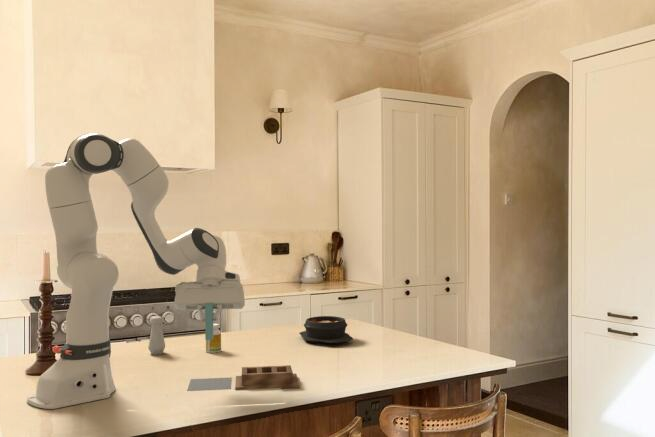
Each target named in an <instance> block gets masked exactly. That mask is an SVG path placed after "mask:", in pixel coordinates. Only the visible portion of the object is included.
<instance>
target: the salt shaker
mask: <svg viewBox="0 0 655 437" xmlns="http://www.w3.org/2000/svg"><path fill="white" fill-rule="evenodd" d="M163 318H164V317H163V316H158V315H156V316H151V318H150V320H149V322H150V324H151V328H150V329H151V330H150V337H149V341H148V350H149V352H150V354H151V355H155V356H159V355H163V353H164V351H165V349H166V342H165V337H164V331H163V325H162V324H163V322H164V319H163Z"/></svg>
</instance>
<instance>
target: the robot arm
mask: <svg viewBox="0 0 655 437" xmlns="http://www.w3.org/2000/svg"><path fill="white" fill-rule="evenodd" d="M108 171H113V172H114V173H116V174H117V175H118V176H119V177H120V178H121V180H122V181H123V183H124V184H125V186H126V187H127V189H128V190H129V192H130V195H131V199H132V202H131V204H130V209H131V212H132V215H133V217H134V219H135V221H136V223H137V225H138V228H139V229H140V231H141V234H142V235H143V237H144V238H145V240H146V242H147V244H148V246H149V249H150V250H151V252H152V255H153V258H154V261H155V263H156V266H157V267H158V269H159V270H160V271H161V272H163V273H165V274H168V275H173V276H175V275H177V274H179V273H180V272H182V271H184V270H185V269H187V268H189V267H191V266H193V265H194V264H195V265H196V266H197V270H196V278H195V281H188V282H187V281H181V282H180V283H177V284H176V285H175V287H174V292H175V296H174V308H175V309H176V310H178V311H197V314H198V315H199V316H200V322H205V312H203V311H205V304H206V303H213V310H215V312H213V322H215V321H217V322H218V321H219V316H221V314H222V312H223V310H242V309H243V308H244V307H245V304H246V302H245V292H244V291H245V290H244V287H243V285H242V284H243V283H241V277H240V275H239V274H238V273H234V272H229V271H227V270H226V266H227V250H226V245H225V243H224V241H223V239H222V238H220V237H219V236H217V235H215V234H214V235H213V234H211V233H210V232H208V231H207V230H205V229H204V228H200V227H194V228H192V229H190V230H188V231H186V232H184V233H182V234H180V235H178V236H176V237H175V238H173V239H170V240H169V239H167V238H166V237H165V235H164V233H163V231H162V229H161V227H160V225H159V224H158V221H157V219H156V217H155V212H156V209H157V207H158V206H159V205H160V204H161V203H162V200H164V198H165V196H166V195H167V194H168V189H169V183H170V182H169V178H168V175H167V174H166V172H165V171H164V169H163V167H162V166H161V165H160V164H159V162H158V161H157V159H156V158H155V157H154V155H153V154H152V152H150V151H149V150H148V148H146V147H145V146H144V145H143V144H142V143H141V142H140V141H139V140H137V139H136V138H126V139H123V140H121V141H119V142H118V141H117V140H114V139H112V138H110V137H109V136H106V135H104V134H102V133H101V134H100V133H97V132H96V133H95V132H94V133H85V134H82V135H80V136H78V137H77V138H75V139H74V140H73V141H72V142H71V143H70V145H69V146H68V149H67V151H66V155H65V157H64V161H63V162H62V163H58V164H55V165H53V166H52V167H50V168H49V169H48V170H46V172H45V180H44V182H45V184H44V185H45V194H46V202H47V206H48V210H49V215H50V218H51V222H52V227H53V231H54V235H55V241H56V243H55V244H56V258H57V267H56V273H57V276H58V279H59V280H60V281H61V282H62V284H63V285H65V287H67V288H69V289H71V297H70V300H69V307H68V309H67V312H66V314H65V332H66V333H65V337H66V340H65V343H64V345H63V346H61V345H60V346H59V345H56V344H55V345H54V346H53V347H52V352H53V353H54V354H59V355H60V356H59V358H58V359H57V360H56V361H55V362H54V363H53V364H52V365H51V366H49V367H48V368H47V369H46V371H44V372H43V373H42V374H41V375H40V376H39V377H38V380H37V385H36V390H35V391H36V392H35V393H33V394H30V395H28V396H27V400H26V401H27V402H26V403H28V404H29V405H31V406H33V407H35V408H40V409H46V410H54V409H59V408H65V407H70V406H74V405H78V404H79V405H80V404H84V403H89V402H93V401H99V400H100V401H101V400H104V399H109V398H110V397H111V394H113V393H114V392H115V391H116V386H115V382H114V377H113V374H112V369H111V368H112V367H111V354H112V353H111V352H112V350H111V348H112V346H111V339H110V337H109V334H110V329H109V326H110V325H109V322H110V321H109V320H110V319H109V317H110V316H109V315H110V306H111V300H112V296H113V292H114V287H115V285H116V284H117V282H118V281H119V268H118V266H117V264H116V263H115V261H113V260H112V259H111V258H110V257H108V256H107V255H104V254H103V253H98V250H97V247H98V246H97V233H98V230H99V226H98V222H97V218H96V217H97V216H96V213H95V208H94V204H93V200H92V196H91V193H90V192H91V191H90V186H89V185H90V183H89V182H90V179H91V177H92V175H97V174H102V173H106V172H108Z"/></svg>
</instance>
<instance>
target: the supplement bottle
mask: <svg viewBox="0 0 655 437" xmlns="http://www.w3.org/2000/svg"><path fill="white" fill-rule="evenodd" d="M219 328H220V324H219V323H213V340H205V352H206V353H208V354H217V353H220V352H221V351H222V331H221V330H220V329H219Z"/></svg>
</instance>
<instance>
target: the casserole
mask: <svg viewBox="0 0 655 437" xmlns="http://www.w3.org/2000/svg"><path fill="white" fill-rule="evenodd" d="M303 326H304V328H305V330H303V331H300V332H299V333H298V334H299V335H300V336H301V338H302V339H304V340H306V341H309V342H310V343H311V342H312V343H315V344H320V345H321V344H326V345H327V344H339V343H340V344H341V343H346V342H351V341H353V340H354V337H352V336H351V335H350V334H349V333H347V332H346V329H347V327H348V323H347V321H346V319H345V317H344V318H343V317H340V316H335V315H333V316H332V315H331V316H330V315H321V316H320V315H319V316H318V315H317V316H311V317H308V318H306V320H305V323H304V324H303Z"/></svg>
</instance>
